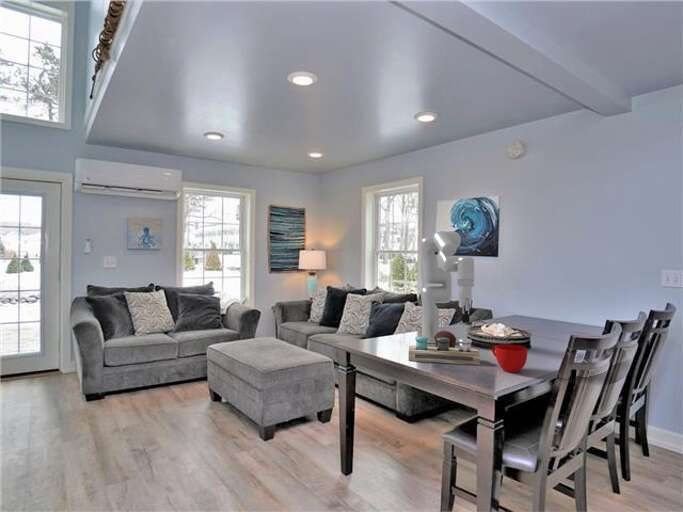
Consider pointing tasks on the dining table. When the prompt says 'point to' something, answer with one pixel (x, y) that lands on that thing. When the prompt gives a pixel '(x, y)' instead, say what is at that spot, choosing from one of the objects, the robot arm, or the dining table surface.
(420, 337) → the teal knob
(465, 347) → the steel knob
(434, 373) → the dining table surface
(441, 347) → the dark gray knob
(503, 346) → the ceramic cup
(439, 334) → the muffin
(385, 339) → the dining table surface
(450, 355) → the box
